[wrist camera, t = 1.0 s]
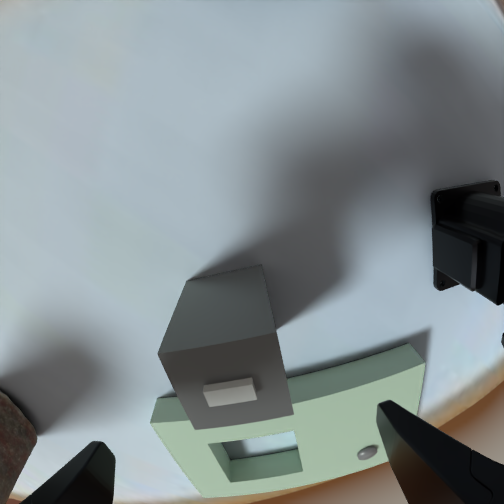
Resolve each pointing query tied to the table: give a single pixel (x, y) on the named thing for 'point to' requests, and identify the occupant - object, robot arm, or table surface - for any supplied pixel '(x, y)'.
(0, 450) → the brown cylinder
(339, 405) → the socket box
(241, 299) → the block
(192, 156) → the table surface
